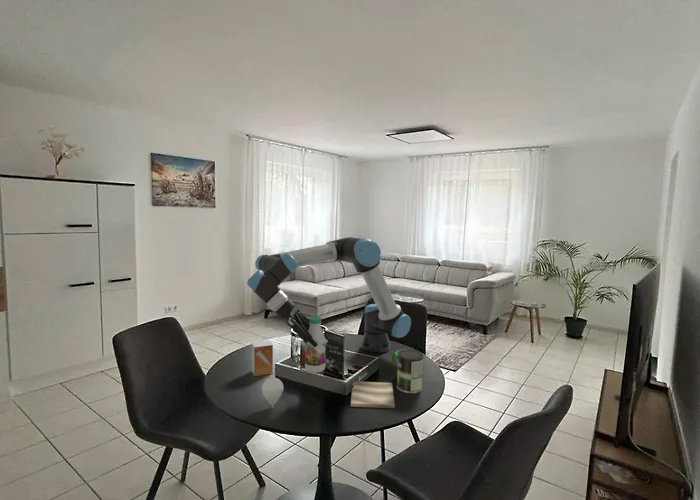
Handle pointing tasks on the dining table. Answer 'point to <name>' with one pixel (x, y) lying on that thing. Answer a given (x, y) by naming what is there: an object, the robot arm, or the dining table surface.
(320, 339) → the milk bottle
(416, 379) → the coffee can
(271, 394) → the spinning top
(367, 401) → the ash board
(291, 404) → the dining table surface
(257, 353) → the small box
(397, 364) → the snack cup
